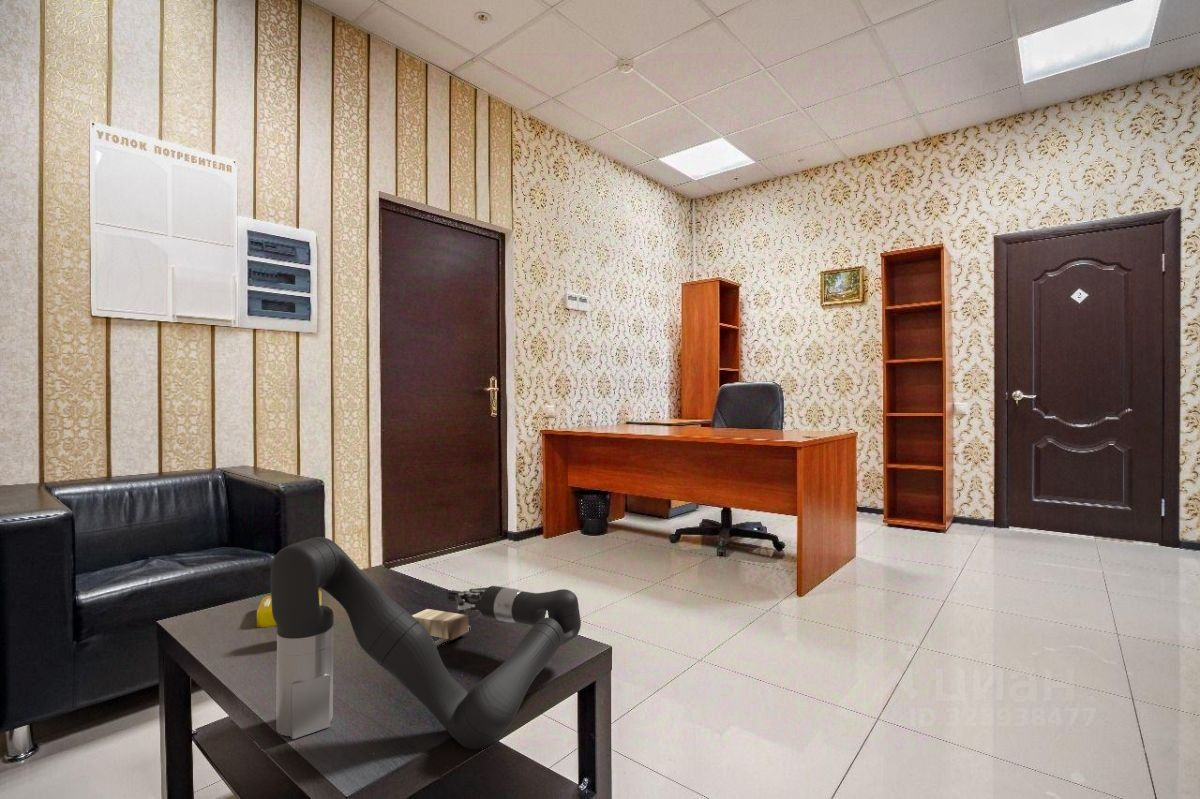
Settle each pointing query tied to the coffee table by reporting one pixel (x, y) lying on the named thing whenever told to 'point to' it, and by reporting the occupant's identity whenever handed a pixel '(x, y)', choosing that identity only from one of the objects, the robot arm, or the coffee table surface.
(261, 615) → the element tile
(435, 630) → the birch block
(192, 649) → the coffee table surface
